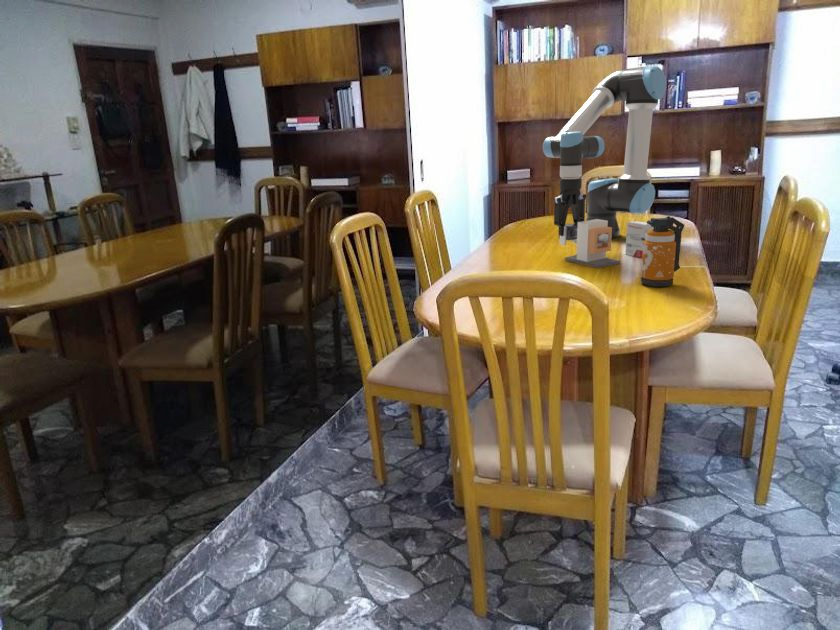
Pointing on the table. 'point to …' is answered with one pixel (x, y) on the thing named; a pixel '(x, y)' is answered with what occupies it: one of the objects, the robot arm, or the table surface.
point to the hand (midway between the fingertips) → (568, 243)
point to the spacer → (594, 237)
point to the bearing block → (583, 244)
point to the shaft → (573, 233)
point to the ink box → (636, 237)
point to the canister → (661, 252)
